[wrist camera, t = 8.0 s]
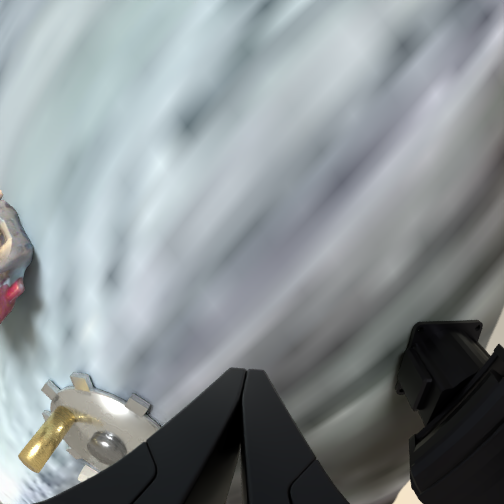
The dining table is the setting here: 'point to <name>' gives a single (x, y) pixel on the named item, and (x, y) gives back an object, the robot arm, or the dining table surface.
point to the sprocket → (88, 425)
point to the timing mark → (86, 473)
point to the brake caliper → (12, 257)
